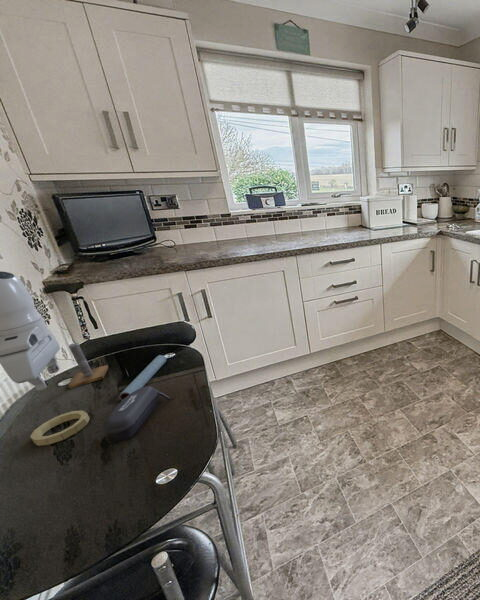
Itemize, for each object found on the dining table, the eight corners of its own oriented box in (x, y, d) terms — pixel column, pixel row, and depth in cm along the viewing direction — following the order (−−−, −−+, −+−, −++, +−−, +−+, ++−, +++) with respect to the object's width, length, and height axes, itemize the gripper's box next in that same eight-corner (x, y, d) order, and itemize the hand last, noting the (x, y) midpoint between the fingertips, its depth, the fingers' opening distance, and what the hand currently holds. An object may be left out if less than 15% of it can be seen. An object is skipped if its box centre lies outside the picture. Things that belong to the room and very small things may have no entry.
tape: (28, 453, 82) (23, 446, 81) (43, 428, 90) (39, 421, 89) (84, 434, 87) (80, 427, 86) (93, 412, 95) (90, 405, 95)
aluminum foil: (133, 400, 99) (129, 391, 98) (109, 405, 98) (104, 395, 97) (168, 362, 120) (164, 354, 119) (148, 365, 119) (144, 357, 118)
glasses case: (131, 402, 96) (132, 380, 94) (171, 406, 100) (174, 384, 98) (91, 448, 80) (92, 421, 78) (142, 450, 83) (143, 425, 81)
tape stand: (69, 389, 108) (50, 354, 103) (76, 377, 115) (59, 343, 110) (104, 379, 112) (87, 345, 107) (109, 368, 119) (93, 335, 114)
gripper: (22, 324, 89) (46, 367, 94) (-15, 354, 73) (17, 404, 78) (53, 317, 92) (75, 359, 97) (24, 344, 76) (52, 393, 81)
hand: (49, 379), depth 87 cm, fingers open, 8 cm apart
